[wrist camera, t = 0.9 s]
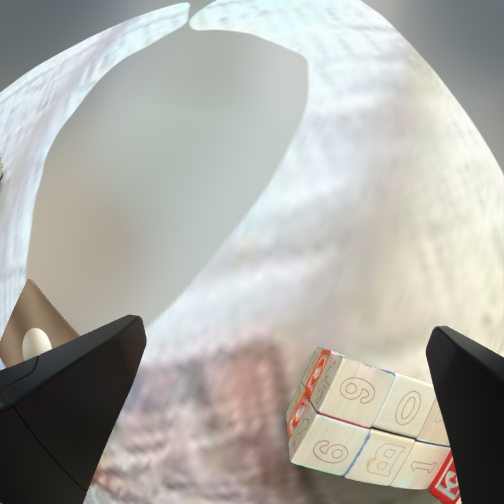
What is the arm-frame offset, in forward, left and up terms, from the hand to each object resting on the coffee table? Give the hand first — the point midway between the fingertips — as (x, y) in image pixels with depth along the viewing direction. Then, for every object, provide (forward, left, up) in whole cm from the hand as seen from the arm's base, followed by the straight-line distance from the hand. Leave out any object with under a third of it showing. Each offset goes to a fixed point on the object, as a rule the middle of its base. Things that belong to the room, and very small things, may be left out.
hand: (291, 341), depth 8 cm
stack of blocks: (-7, -12, -15) cm, 20 cm away
